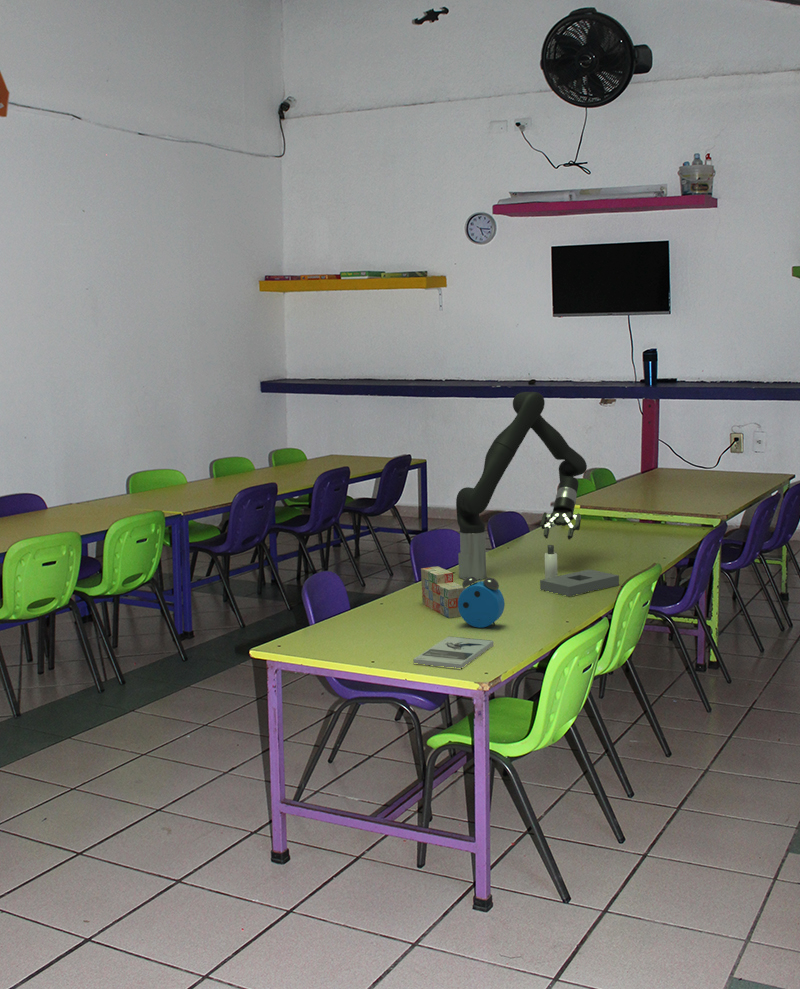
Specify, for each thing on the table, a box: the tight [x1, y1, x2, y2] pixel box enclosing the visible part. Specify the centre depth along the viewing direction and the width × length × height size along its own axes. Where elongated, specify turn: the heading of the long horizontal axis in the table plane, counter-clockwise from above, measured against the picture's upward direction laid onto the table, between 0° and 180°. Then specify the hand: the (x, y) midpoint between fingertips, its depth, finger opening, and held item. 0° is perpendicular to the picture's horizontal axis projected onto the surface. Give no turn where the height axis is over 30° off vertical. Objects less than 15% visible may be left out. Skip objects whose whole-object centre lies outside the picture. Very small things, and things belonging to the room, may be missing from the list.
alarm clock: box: [458, 577, 505, 629], centre depth 297 cm, size 13×6×15 cm, turn 65°
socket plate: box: [539, 568, 620, 597], centre depth 341 cm, size 24×14×4 cm, turn 125°
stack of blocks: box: [420, 566, 466, 619], centre depth 319 cm, size 21×6×12 cm, turn 22°
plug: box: [544, 544, 558, 579], centre depth 352 cm, size 4×4×13 cm
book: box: [413, 635, 494, 668], centre depth 271 cm, size 23×14×2 cm, turn 153°
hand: (557, 537), depth 359 cm, fingers open, 8 cm apart
